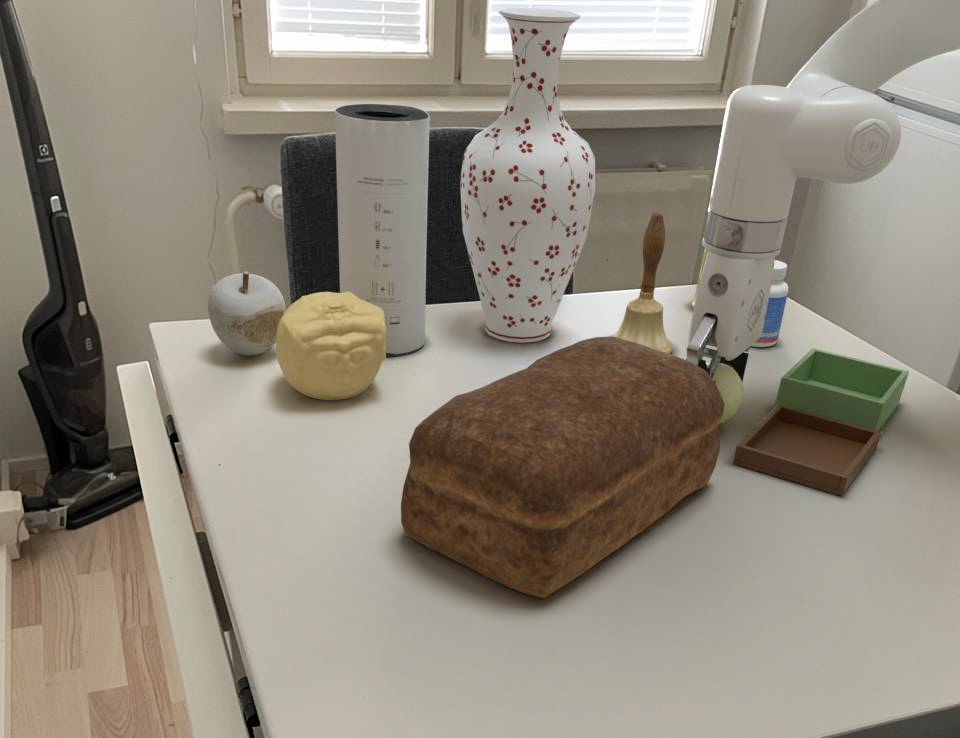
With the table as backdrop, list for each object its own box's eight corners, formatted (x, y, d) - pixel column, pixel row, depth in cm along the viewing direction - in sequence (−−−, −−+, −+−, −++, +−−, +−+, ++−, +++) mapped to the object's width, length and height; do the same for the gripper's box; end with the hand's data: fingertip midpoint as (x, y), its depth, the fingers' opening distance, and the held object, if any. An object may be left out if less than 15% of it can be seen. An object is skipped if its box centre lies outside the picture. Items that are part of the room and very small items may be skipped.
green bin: (898, 404, 114) (909, 371, 112) (872, 438, 107) (883, 403, 104) (804, 380, 119) (812, 347, 116) (773, 411, 111) (781, 377, 109)
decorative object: (249, 334, 123) (241, 251, 116) (303, 351, 119) (298, 266, 113) (196, 355, 117) (185, 268, 110) (251, 374, 113) (243, 285, 107)
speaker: (433, 331, 126) (437, 101, 110) (418, 361, 118) (420, 118, 102) (352, 323, 127) (344, 95, 111) (331, 353, 119) (320, 111, 103)
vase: (450, 308, 133) (458, 0, 112) (568, 309, 135) (598, 6, 114) (461, 354, 120) (473, 16, 99) (591, 354, 122) (630, 23, 101)
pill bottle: (782, 339, 130) (800, 263, 124) (768, 351, 126) (786, 273, 120) (742, 329, 132) (758, 254, 126) (728, 341, 128) (743, 264, 122)
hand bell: (593, 345, 125) (609, 212, 115) (632, 330, 130) (650, 201, 120) (647, 365, 120) (668, 228, 111) (685, 348, 125) (708, 216, 116)
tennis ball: (746, 435, 106) (759, 375, 102) (687, 437, 105) (698, 377, 101) (723, 409, 111) (735, 351, 107) (667, 412, 110) (677, 353, 106)
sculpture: (296, 417, 104) (289, 316, 98) (267, 374, 113) (259, 278, 106) (398, 403, 108) (398, 304, 102) (363, 362, 117) (360, 269, 110)
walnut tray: (876, 449, 105) (881, 431, 103) (841, 496, 96) (847, 478, 95) (774, 421, 109) (778, 404, 108) (732, 463, 100) (736, 445, 99)
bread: (724, 483, 97) (752, 352, 89) (538, 616, 78) (554, 465, 70) (581, 429, 105) (596, 305, 97) (382, 538, 86) (379, 395, 78)
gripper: (749, 260, 88) (712, 437, 99) (809, 221, 100) (770, 383, 111) (672, 244, 91) (644, 417, 102) (739, 208, 103) (708, 366, 114)
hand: (710, 399), depth 106 cm, fingers open, 9 cm apart
